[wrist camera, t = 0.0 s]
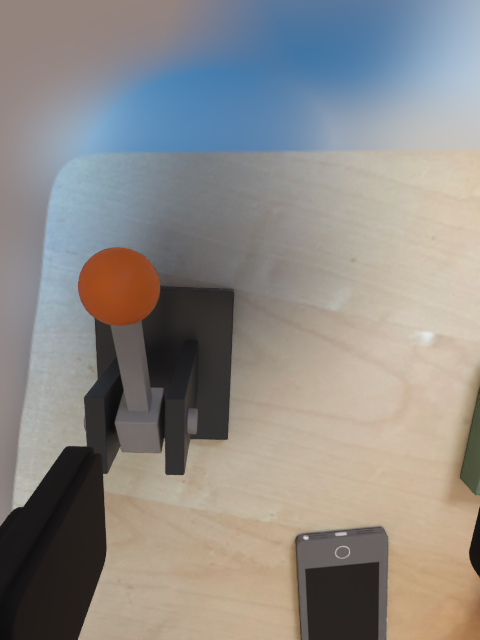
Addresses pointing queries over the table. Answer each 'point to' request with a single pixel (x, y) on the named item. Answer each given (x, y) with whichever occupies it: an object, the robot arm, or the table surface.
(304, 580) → the smartphone
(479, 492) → the control block
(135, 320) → the switch lever
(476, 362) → the table surface
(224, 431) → the lever base
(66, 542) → the robot arm
